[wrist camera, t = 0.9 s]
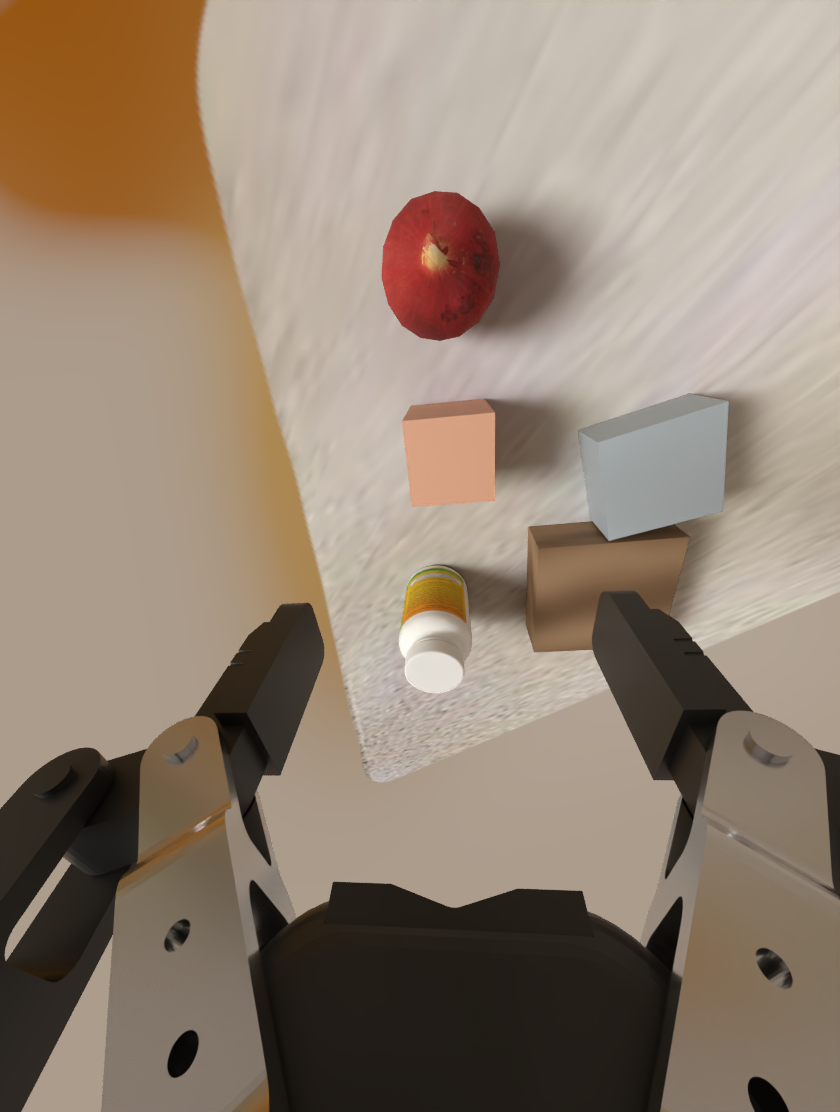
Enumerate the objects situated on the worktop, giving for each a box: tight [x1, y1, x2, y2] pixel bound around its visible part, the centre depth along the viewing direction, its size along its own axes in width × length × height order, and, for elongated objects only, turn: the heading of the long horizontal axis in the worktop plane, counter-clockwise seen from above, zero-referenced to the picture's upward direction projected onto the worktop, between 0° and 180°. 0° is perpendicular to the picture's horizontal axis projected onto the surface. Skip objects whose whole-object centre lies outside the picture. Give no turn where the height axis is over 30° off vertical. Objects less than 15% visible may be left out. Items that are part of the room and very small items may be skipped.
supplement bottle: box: [399, 565, 472, 693], centre depth 28 cm, size 5×5×10 cm
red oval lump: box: [382, 191, 500, 341], centre depth 18 cm, size 6×6×8 cm
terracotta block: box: [402, 399, 495, 507], centre depth 23 cm, size 5×5×6 cm
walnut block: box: [526, 521, 690, 652], centre depth 29 cm, size 10×10×4 cm
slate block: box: [578, 394, 729, 541], centre depth 24 cm, size 7×7×4 cm
